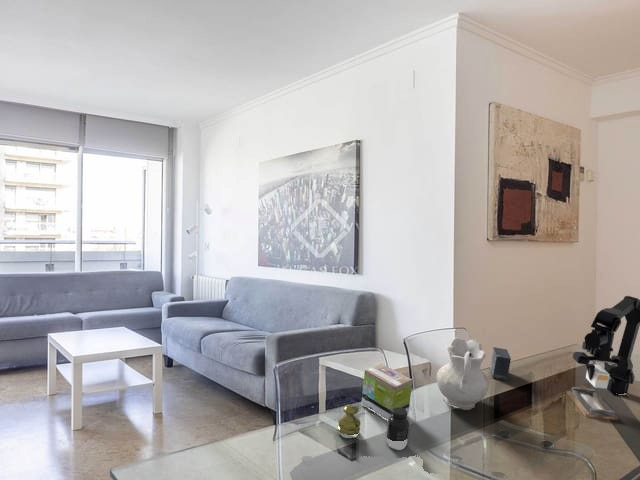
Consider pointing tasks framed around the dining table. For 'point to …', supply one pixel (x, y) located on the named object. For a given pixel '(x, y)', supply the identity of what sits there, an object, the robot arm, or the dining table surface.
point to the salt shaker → (349, 421)
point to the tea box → (386, 390)
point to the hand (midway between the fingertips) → (596, 380)
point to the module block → (599, 377)
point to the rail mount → (591, 403)
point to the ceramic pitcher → (463, 374)
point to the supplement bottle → (398, 425)
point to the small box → (500, 363)
